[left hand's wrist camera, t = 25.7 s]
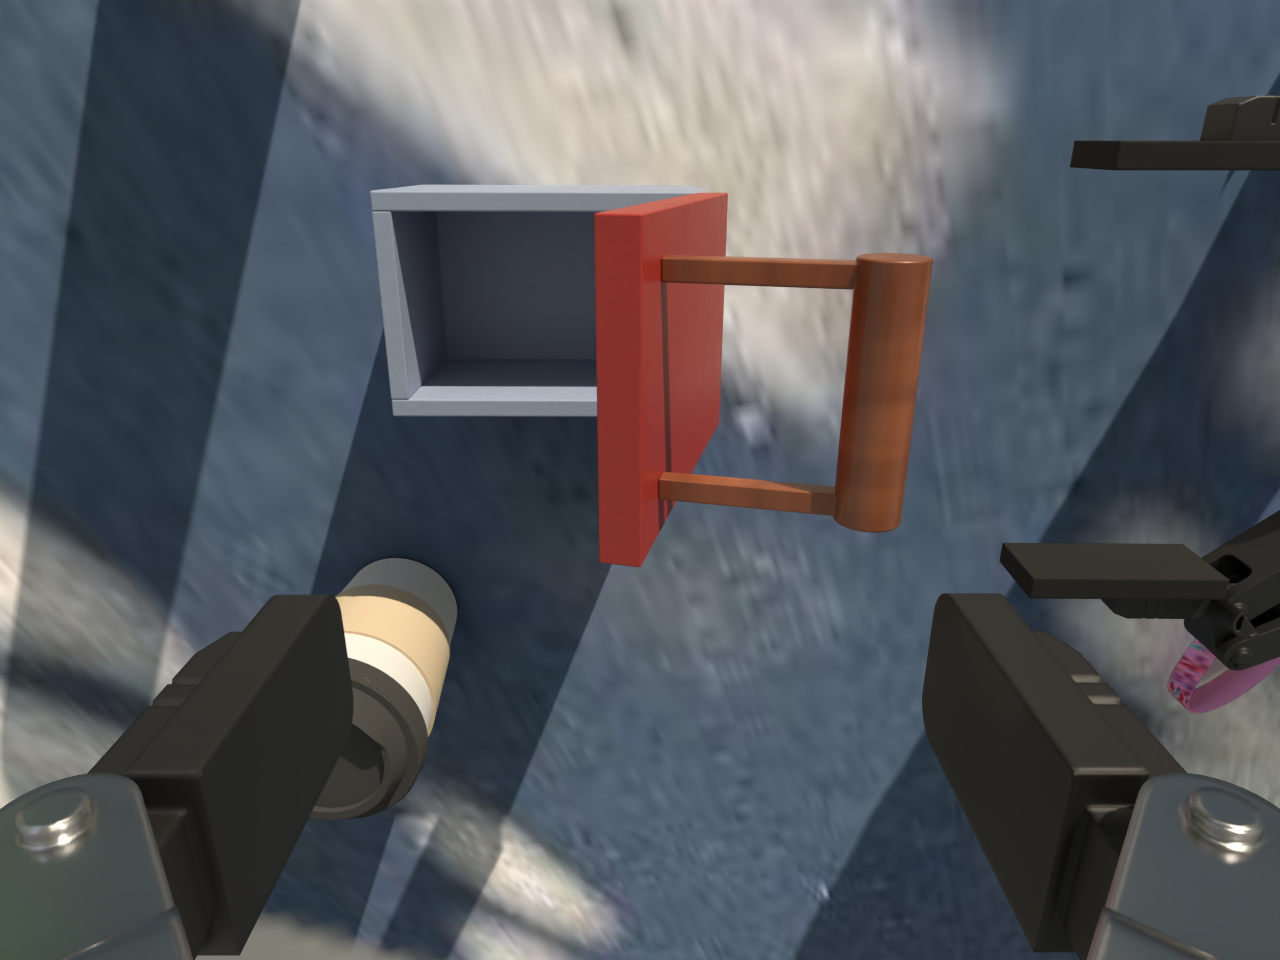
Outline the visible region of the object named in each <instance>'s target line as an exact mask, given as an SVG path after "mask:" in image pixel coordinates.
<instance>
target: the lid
mask: <svg viewBox="0 0 1280 960" xmlns="http://www.w3.org/2000/svg"><path fill="white" fill-rule="evenodd" d="M727 203H728V194H727V193H694V194H689V195H684V196H679V197H674V198H669V199H664V200H659V201H654V202H649V203H644V204H639V205H634V206H629V207H624V208H619V209H614V210H609V211H604V212H599V213H595V214H594V240H595V307H596V373H597V440H598V506H599V561H600V563H608V564H617V565H625V566H634V567H641V565H642V563H643V561H644V559H645V558H646V556H647V554H648V552H649V550H650V548H651V547H652V545H653V543H654V541H655V539H656V537H657V536H658V534H659V532H660V530H661V528H662V526H663V525H664V523H665V521H666V519H667V517H668V515H669V513H670V512H671V510H672V508H673V506H674V504H675V502H676V501H683V502H693V503H704V504H715V505H725V506H736V507H746V508H757V509H767V510H778V511H788V512H799V513H809V514H820V515H830V516H833V518H834V520H835V521H836V522H837V523H838V524H840V525H842V526H844V527H846V528H849V529H852V530H857V531H862V532H886V531H891V530H893V529H895V528H897V527H898V526H899V525H900V523H901V515H902V507H903V499H904V491H905V483H906V474H907V466H908V458H909V450H910V442H911V434H912V426H913V418H914V410H915V401H916V393H917V385H918V377H919V369H920V361H921V353H922V345H923V337H924V328H925V320H926V312H927V304H928V296H929V288H930V280H931V272H932V264H933V260H932V258H930V257H927V256H921V255H912V254H894V253H875V254H863V255H859V256H857V258H856V260H823V259H789V258H755V257H725V255H726V229H727ZM724 285H746V286H773V287H800V288H827V289H853V299H852V310H851V320H850V331H849V342H848V353H847V364H846V375H845V386H844V397H843V408H842V418H841V429H840V440H839V451H838V462H837V473H836V484H835V487H832V486H821V485H809V484H798V483H786V482H775V481H764V480H752V479H741V478H729V477H718V476H706V475H695V474H691V473H692V471H693V469H694V467H695V466H696V464H697V462H698V460H699V458H700V456H701V455H702V453H703V451H704V449H705V447H706V445H707V444H708V442H709V440H710V438H711V436H712V434H713V433H714V431H715V429H716V427H717V425H718V423H719V411H720V385H721V359H722V333H723V307H724Z"/></svg>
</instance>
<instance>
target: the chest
mask: <svg viewBox="0 0 1280 960" xmlns="http://www.w3.org/2000/svg"><path fill="white" fill-rule="evenodd" d="M694 193H710V192H708V191H706V190H704V189H702V188H700V187H697V186H634V185H417V186H408V187H400V188H391V189H383V190H374V191H370V199H371V208H372V211H373V212H372V219H373V229H374V238H375V248H376V257H377V267H378V277H379V286H380V296H381V305H382V315H383V325H384V334H385V344H386V353H387V363H388V372H389V382H390V392H391V399H392V409H393V415H394V416H498V417H597V373H596V307H595V240H594V214H595V213H599V212H604V211H609V210H614V209H619V208H624V207H629V206H634V205H639V204H644V203H649V202H654V201H659V200H664V199H669V198H674V197H679V196H684V195H689V194H694Z"/></svg>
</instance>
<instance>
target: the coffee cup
mask: <svg viewBox="0 0 1280 960" xmlns="http://www.w3.org/2000/svg"><path fill="white" fill-rule="evenodd" d="M335 597H336V599H337V600H338V602H339V605H340V608H341V613H342V620H343V627H344V634H345V641H346V648H347V655H348V662H349V669H350V676H351V683H352V690H353V702H354V704H353V719H352V725H351V730H350V734H349V737H348V740H347V742H346V745H345V747H344V749H343V751H342V753H341V755H340V757H339V759H338V761H337V763H336V765H335V767H334V769H333V771H332V773H331V774H330V776H329V778H328V780H327V782H326V784H325V786H324V788H323V790H322V792H321V794H320V796H319V798H318V800H317V802H316V804H315V806H314V808H313V810H312V812H311V814H310V816H309V817H310V818H315V819H322V820H340V819H352V818H361V817H366V816H370V815H373V814H376V813H379V812H382V811H384V810H386V809H388V808H390V807H392V806H393V805H395V804H396V803H398V802H399V801H400V800H401V799H402V798H403V797H404V796H405V795H406V794H407V793H408V792H409V791H410V789H411V788H412V786H413V785H414V783H415V781H416V779H417V776H418V774H419V773H420V771H421V769H422V767H423V765H424V762H425V759H426V755H427V750H428V736H429V735H430V732H431V730H432V727H433V724H434V720H435V716H436V712H437V708H438V704H439V699H440V695H441V691H442V687H443V683H444V679H445V675H446V671H447V667H448V663H449V658H450V644H451V640H452V636H453V632H454V628H455V624H456V620H457V604H456V600H455V597H454V594H453V592H452V590H451V589H450V587H449V585H448V584H447V583H446V581H445V580H444V579H443V578H442V577H441V576H440V575H439V574H438V573H436V572H435V571H434V570H432V569H431V568H429V567H427V566H426V565H423V564H421V563H419V562H416V561H413V560H409V559H402V558H388V559H382V560H379V561H376V562H373V563H371V564H369V565H367V566H366V567H364V568H363V569H362V570H361V571H359V572H358V574H357V575H356V576H355V577H354V578H353V579H352V580H351V581H350V582H349V584H348V585H347V586H346V587H345V588H344V589H343V590H342V592H341V593H339V594H338V595H336V596H335Z"/></svg>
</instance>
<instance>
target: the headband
mask: <svg viewBox="0 0 1280 960" xmlns="http://www.w3.org/2000/svg"><path fill="white" fill-rule="evenodd" d="M1215 659H1216V657H1215V656H1214V655H1213V654H1212V653H1211V652H1210V651H1209V650H1208V649H1207V648H1206V647H1205V646H1203V645H1202V644H1201V643H1200V642H1199V641H1198V640H1197V639H1195V640H1194V642H1193V643H1192V644H1191V646H1190V647H1189V648H1188V650H1187V651H1186V652H1185V654H1184V655H1183V657H1182V658H1181V659H1180V661H1179V662H1178V664H1177V666H1176V667H1175V669H1174V671H1173V673H1172V674H1171V677H1170V679H1169V682H1168V690H1169V692H1170V693H1171V694H1172V695H1173V696H1174V697H1175V698H1176V699H1177V700H1178V701H1179V702H1180V703H1181V704H1182V705H1183V706H1184V707H1185V708H1186V709H1187V710H1188V711H1189V712H1191V713H1194V714H1198V713H1204V712H1208V711H1211V710H1214V709H1216V708H1219V707H1221V706H1223V705H1225V704H1227V703H1229V702H1231V701H1232V700H1234V699H1236V698H1238V697H1239V696H1241V695H1242V694H1244V693H1245V692H1247V691H1248V690H1249V689H1251V688H1252V687H1253V686H1255V685H1256V684H1257V683H1259V682H1260V681H1261V680H1262V679H1263V678H1265V677H1266V676H1267V675H1268V674H1269V673H1270V672H1271V671H1272V670H1273V669H1274V668H1275V667H1276V666H1277V665H1278V664H1279V663H1280V657H1278V658H1276V659H1273V660H1270V661H1267V662H1264V663H1262V664H1259V665H1256V666H1253V667H1250V668H1248V669H1245V670H1240V671H1236V670H1231V669H1229V670H1227V671H1226V672H1224V673H1223V674H1222V675H1220V676H1219V677H1217V678H1215V679H1214V680H1212V681H1210V682H1209V683H1207V684H1205V685H1203V686H1201V687H1199V688H1196V689H1195V687H1196V685H1197V684H1198V682H1199V681H1200V679H1201V678H1202V676H1203V675H1204V673H1205V672H1206V671H1207V669H1208V668H1209V666H1210V665H1211V664H1212V663H1213V661H1214V660H1215Z"/></svg>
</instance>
